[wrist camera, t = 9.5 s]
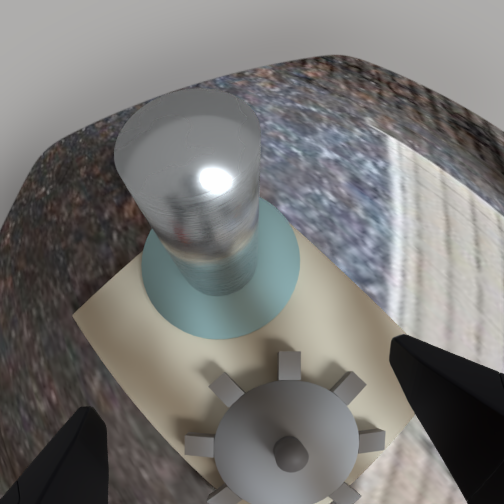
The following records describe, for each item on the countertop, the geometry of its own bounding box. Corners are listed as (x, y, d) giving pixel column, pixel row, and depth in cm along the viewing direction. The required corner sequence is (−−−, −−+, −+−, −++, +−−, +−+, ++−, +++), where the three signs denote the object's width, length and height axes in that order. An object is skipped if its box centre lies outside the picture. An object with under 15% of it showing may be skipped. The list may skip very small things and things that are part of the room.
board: (279, 543, 14) (284, 574, 10) (66, 312, 20) (33, 297, 16) (442, 379, 18) (478, 376, 14) (226, 175, 24) (222, 138, 20)
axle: (233, 310, 19) (207, 226, 8) (166, 272, 19) (86, 166, 9) (271, 243, 20) (286, 112, 10) (206, 211, 21) (171, 77, 11)
